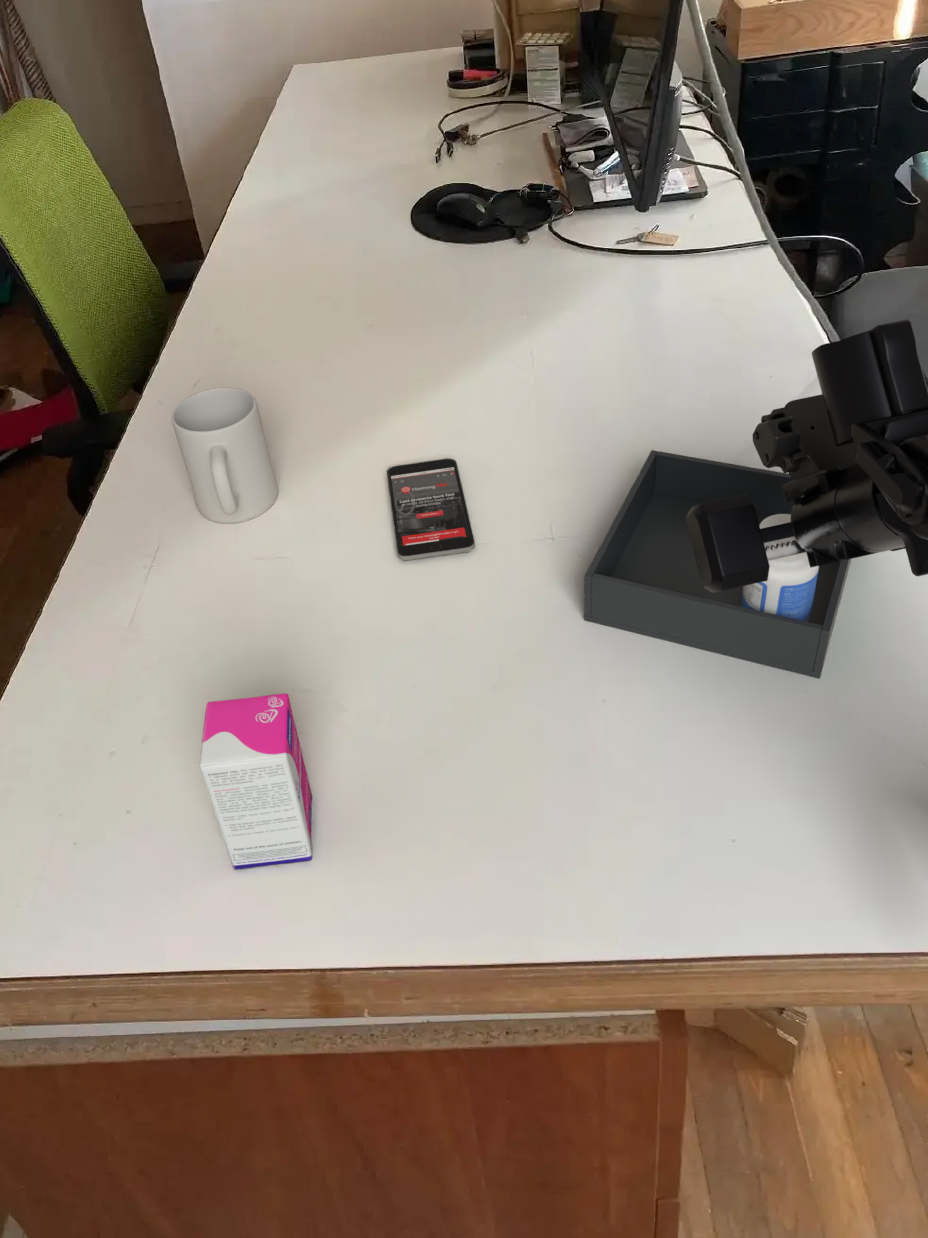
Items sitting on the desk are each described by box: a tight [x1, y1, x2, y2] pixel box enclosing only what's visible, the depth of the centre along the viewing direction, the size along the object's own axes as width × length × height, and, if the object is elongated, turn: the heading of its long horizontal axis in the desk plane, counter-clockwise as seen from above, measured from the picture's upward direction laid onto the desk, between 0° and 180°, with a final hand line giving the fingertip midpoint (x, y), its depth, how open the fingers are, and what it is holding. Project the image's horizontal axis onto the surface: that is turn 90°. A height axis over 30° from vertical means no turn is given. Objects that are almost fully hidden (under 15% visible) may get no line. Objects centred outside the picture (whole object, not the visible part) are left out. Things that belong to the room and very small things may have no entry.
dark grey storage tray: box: [583, 449, 852, 679], centre depth 88 cm, size 19×19×5 cm
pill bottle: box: [741, 514, 819, 622], centre depth 81 cm, size 6×5×10 cm
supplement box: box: [199, 692, 313, 871], centre depth 70 cm, size 6×6×12 cm
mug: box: [171, 387, 279, 525], centre depth 101 cm, size 12×8×11 cm
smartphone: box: [386, 457, 476, 561], centre depth 101 cm, size 7×1×15 cm
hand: (775, 537), depth 80 cm, fingers open, 9 cm apart
